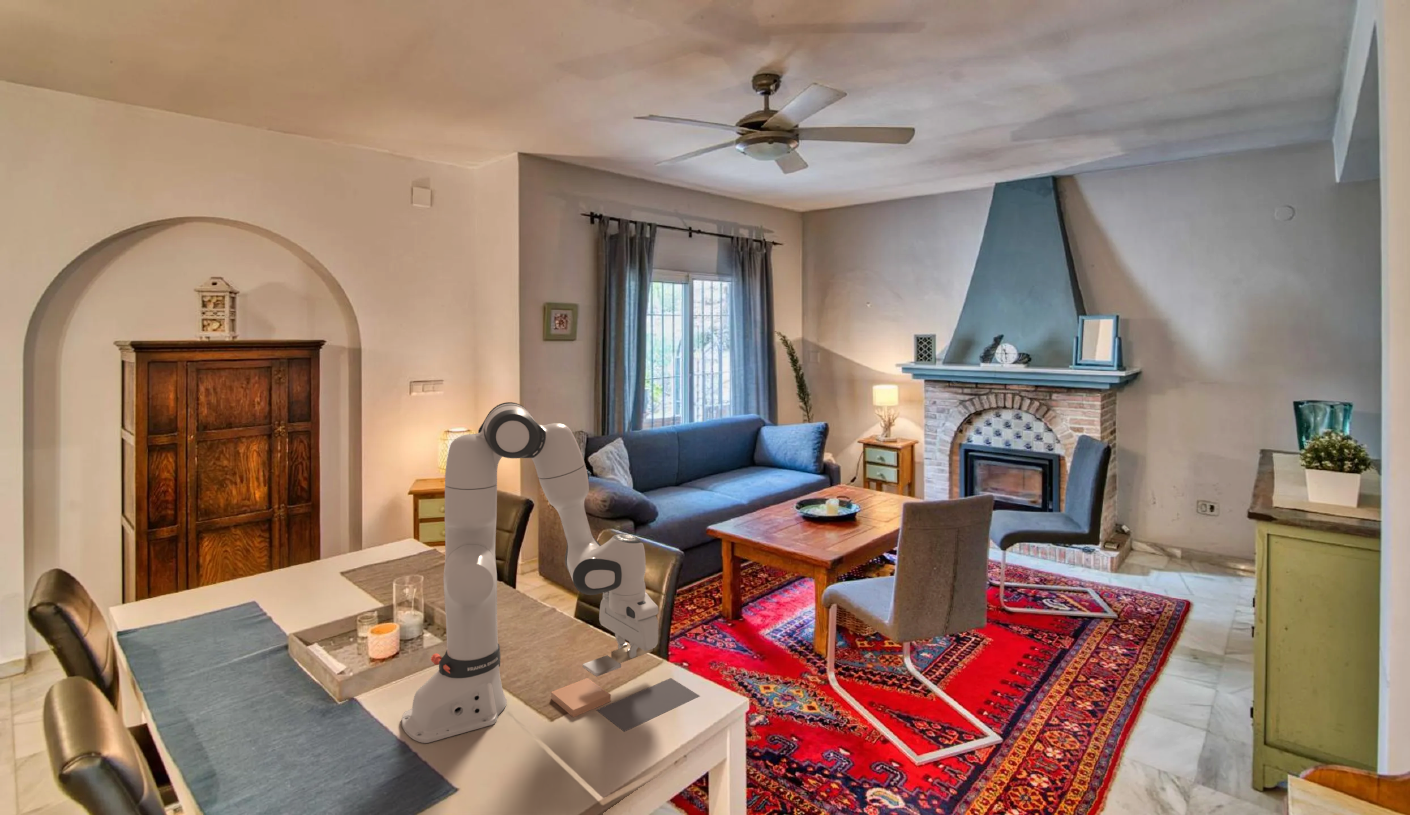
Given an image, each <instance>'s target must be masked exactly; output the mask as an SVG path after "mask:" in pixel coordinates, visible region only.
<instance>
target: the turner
mask: <svg viewBox="0 0 1410 815" xmlns="http://www.w3.org/2000/svg"><path fill="white" fill-rule="evenodd" d="M630 647H631V645H630V644H627V646H626V647H623V648H620V649H618V648H617V649H615V650H612V651H611V652H610V654H611V656H609V655H608V654H607V655H603V656H601V657H598V658H595V659H593V660H590V661H587V662H585V663H582V668H583V669H585V670H586V671H587V672H589V673H590V674H592V675H593V676H594V677H600V676H602V675H605V674H607V673H610V672H613V671H615V670H618V669H621V668H622V664H623V663H625V662H628V661H630V660H632V659H636V658H638V657H642V656H644V655H646V654H649V653H652V652H654V648H652V649H650V650H647V651H644V650H642V649H641V648H639V647H638V648H637V650H636V657H634V658H630V657H629V656H627V650H628V649H630Z"/></svg>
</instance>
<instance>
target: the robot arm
mask: <svg viewBox="0 0 1410 815" xmlns="http://www.w3.org/2000/svg"><path fill="white" fill-rule="evenodd" d="M447 453H448V454H447V458H446V464H445V475H444V477H445V478H444V539H445V541H444V543H445V548H444V549H445V550H444V551H445V552H444V553H445V556H444V569H443V579H442V580H443V593H444V594H443V596H444V613H445V625H446V626H445V627H446V629H445V631H446V650H445V653H444V655H443V656H441V655H440V654H439V653H433V654H432V655H431V657H430V660H431V662H432V663H433V664H434V665H436V666H438V670H437V671H436V672H435V673H434V674H433V675H432V676H431V677H430V678H429V679H428V680H427V681H426V682H425V683H424V684H422V685H421V686H420V687H419V688H418V689H416V692H415V694H414V696H413V699H412V700H413V701H412V706H411V709H408V710H405V712H404V713H403V714H402V716H401V727H402V729H403V731H404V733H406V735H407V736H408V737H410V738H411V739H412V740H414V741H416V742H419V743H422V744H428V743H432V742H436V741H440V740H443V739H446V738H450V737H453V736H456V735H460V734H464V733H467V732H472V731H474V730H478V729H482V728H486V727H489V726H492V725H494V724H496V722H497V720H498V716H499V715H500V714H501V713H502V712H503V710H505V708H506V706H507V697H506V695H505V693H504V690H503V683H502V680H501V674H500V673H501V672H500V667H501V648H500V647H501V645H500V644H499V641H498V640H499V639H498V637H499V636H498V635H499V634H498V573H497V560H496V538H497V537H496V535H497V534H496V533H497V517H498V516H497V513H498V508H497V506H498V502H497V501H498V466H499V463H500V460H501V459H502V458H507V459H531V460H532V462H533V464H534V467H535V468H534V469H535V470H536V474H537V475H536V476H537V478H538V481H539V484H540V487H541V490H542V492H543V494H544V496H545V498H546V499H547V501H548V503H549V504H550V505H551V506H552V507H553V508H554V509H555V510H556V511H557V513H558V516H559V518H560V523H561V526H562V529H563V533H564V536H565V539H566V550H565V555H564V563H565V568H566V569H567V571H568V573H569V575H570V577H571V580H572V583H573V585H574V587H575V588H576V589H577V591H579V593H581V594H584V595H587V596H595V595H599V594H602V599H601V601H600V605H599V615H598V617H599V618H598V620H599V623H600V625H601V626H603V627H604V628H606V629H608V630H609V631H610V632H612V633H613V634H614V636H615V639H616V642H617V649H620V648H623V647H626V646H628V645H631V647H630V649H628V650H627V656H629V657H630V658H633V659H635V658H634V657H636V650H637V648H638V647H639V648H641V649H642V650H644V651H647V650H650V649H652V648H653V649H654V648H656V647H657V645H658V643H659V620H658V617H657V616H656V615H658V614H659V606H658V605H657V604H656V603H655V602H654V601H653V599H652V598H651V597H650V595H649V594H648V592H646V583H645V574H646V564H647V563H646V550H645V546H644V543H643V541H641V539H640V538H638V537H637V536H635V535H632V534H627V533H618V534H614V535H612V537H611V538H610V539H609V540H607V541H606V542H604V543H603V544H601V543H599V541H597V539H595V537H594V536H593V534H592V532H591V527H590V523H589V521H588V520H589V519H588V516H587V514H586V507H585V499H586V498H587V497H588V495H589V492H590V483H589V476H588V475H589V474H588V472H587V467H586V466H587V465H586V463H585V460H584V459H585V458H584V456H583V454H582V450H581V449H580V446H579V443H578V442H577V439H576V437H575V435H574V433H573V431H572V430H571V428H570V427H569V426H568V425H566V424H564V423H559V422H558V423H557V422H552V423H548V424H539V423H538V422H537V421H536V420H535V419H534V417H533V415H532V414H531V413H530V411H529V410H528V409H527V408H526V407H524V406H523V405H522V404H520V403H517V402H512V401H510V402H508V401H506V402H502V403H500V404H497V405H496V406H494V407H493V408H492V409H491V410H490V411H489V412H488V414H487V415H486V417H485V419H484V421H483V422H482V424H481V425H480V427H479V428H478V433H469V434H463V435H461V436H458V437H456V438H455V439H453V441H452V442H451V443H450V445H449V449H448V452H447ZM626 641H627V642H628V643H629V644H628V643H626ZM636 658H637V657H636Z"/></svg>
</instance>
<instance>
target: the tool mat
mask: <svg viewBox="0 0 1410 815" xmlns="http://www.w3.org/2000/svg"><path fill="white" fill-rule="evenodd" d="M698 697H700V694H698V693H696V692H694V691H693V690H691V689H689V688H688V687H686V686H685V685H683V684H682V683H680V682H678V681H677V680H675V679H674V678H671V677H670V678H668V679H665V680H663V681H661V682H658V683H656V684H654V685H652V686H649V687H647V688H644V689H642V690H639V691H638V692H635V693H633V694H631V695H628V696H626V697H624V698H621V699H619V700H617V701H614V702H612V703H609V704H608V705H605V706H603V707H600V708H598V709H596V711H597V712H598V713H600V714H601V715H602V716H603V717H604V718H606V719H607V720H608V721H610V722H611V724H613V725H615V726H616V727H617V728H619V730H621V731H623V732H627V731H629V730H632V729H633V728H635V727H637V726H641V725H642V724H644V723H646V722H648V721H650V720H652V719H654V718H657V717H659V716H660V715H661V716H662V715H663V714H665V713H667V712H669V711H672V710H674V709H676V708H678V707H680V706H682V705H685V704H686V703H688V702H690V701H693V700H695V699H696V698H698Z"/></svg>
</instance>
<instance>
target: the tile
mask: <svg viewBox="0 0 1410 815" xmlns="http://www.w3.org/2000/svg"><path fill="white" fill-rule="evenodd" d="M611 695H612V694H610V693H609V692H608V691H606V690H605V689H603V687H601V686H600V685H598V684H597V683H595V682H594V681H592V680H591V679H590V678H589V677H587V678H584V679H581V680H579V681H576V682H573V683H570V684H568V685H565V686H563V687H559V688H557V689H555V690H553V691H550V697H551V698H550V699H551V700H552V701H553V702H554V703H556V704H557V705H558V706H559V707H560V708H562V709H563V710H564V711H565V712H567V713H568V714H569V715H570V716H571V717H573V718H575V717H578V716H580V715H583V714H584V713H586V712H589V711H591V710H594V709H596V708H599V707H600V706H603V705H605V704H608V703H610V702H611V699H612V698H611V697H612V696H611Z"/></svg>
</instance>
